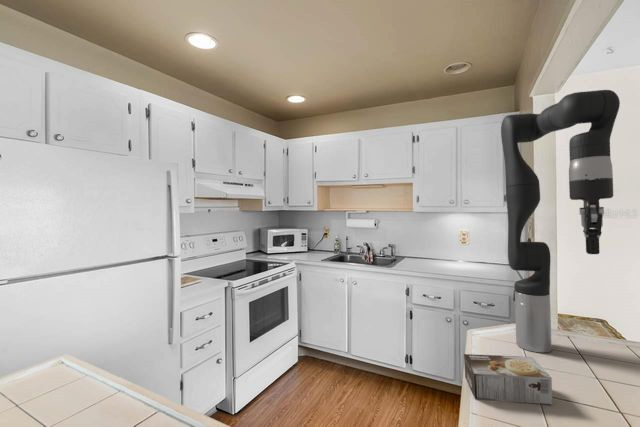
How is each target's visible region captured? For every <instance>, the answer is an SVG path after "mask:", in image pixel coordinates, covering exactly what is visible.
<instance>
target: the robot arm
mask: <svg viewBox="0 0 640 427" xmlns="http://www.w3.org/2000/svg"><path fill="white" fill-rule="evenodd" d="M620 104H621V103H620V97H619V95H618V94H617V93H616V92H615V91H614V90H610V89H599V90H590V91H589V90H588V91H577V92H572V93H570V94H566V95H565V96H563V97H562V98H561V99H560V100H559V101H558V102H557V103H554V104H552V105H549V106H548V107H546V108H544V109H543V110H542V111H541V112H540V113H518V114H516V113H515V114H509V115H506V116H504V118H503V119H502V120H501V121H502V122H501V126H500V135H501V144H502V150H503V159H504V170H505V172H504V173H505V174H504V175H505V198H506V200H505V201H506V209H507V230H508V231H507V234H508V235H507V260H508V264H509V267H510V269H511V270H514V271H522V272H523V271H524V272H525V271H526V272H533V274H532V275H531V276H528V277H525V278H523V279H519V280H516V281H515V282H514V284H513V286H514V287H513V288H514V306H515V308H514V309H515V310H514V312H515V314H514V315H515V341H516V342H515V344H516V345H517V346H518V347H519V348H521V349H524V350H527V351H530V352H535V353H544V354H545V353H549V352H552V349H553V348H552V320H551V319H552V317H551V314H552V313H551V312H552V311H551V293H550V292H551V290H550V287H551V260H552V259H551V249H550V247H549V245H548V244H547V243H546V242H544V241H522V234H523V233H522V232H523V230H524V227H525V225H526V223H528V220H530V218H531V216H532V215H533V213H534V212H535V211H536V209H537V208H538V206H539V204H540V202H541V186H540V180H539V177H538V176H537V174H536V172H535V171H534V170H533V168H532V167H531V166H530V165H529V164H528V163H527V161H526V160H525V159H524V158H523V156H522V154H521V152H520V148H519V145H518V144H519V143H520V144H522V143H532V142H535V141H537V140H539V139H541V138H543V137H544V136H547V135H548V134H550V133H552V132H557V131H562V130H565V129H569V128H571V127H574V126H576V125H578V124H579V125H580V124H590V128H589V130H588V131H585V132H581V133H577V134H575V135H573V136H572V137H570V139H569V143H568V144H569V145H568V146H569V147H568V148H569V167H568V185H569V186H568V187H569V199H570V200H572V201H578V200H579V201H583V207H579V216H580V221H581V226H582V227H583V230H582V232H583V236H584V238H585V253H586V254H587V255H599V254H600V238H601V235H602V233H603V232H602V227H603V224H604V222H603V221H604V220H603V217H604V214H605V207H604V206H601V205H600V200H603V199H605V200H606V199H612V198H613V197H614V180H613V179H614V175H613V172H614V171H613V170H614V169H613V164H612V159H611V136H612V133H613V129H614V125H615V121H616V120H617V116H618V113H619V110H620Z"/></svg>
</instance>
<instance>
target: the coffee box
mask: <svg viewBox="0 0 640 427" xmlns="http://www.w3.org/2000/svg"><path fill="white" fill-rule="evenodd" d="M463 359H464V360H463V361H464V364H463V366H464V377H465V379H466V382H467V384H468V387H469V389H470V391H471V392H472V395H473V398H474V399H475V400H484V401H485V400H488V401H501V402H502V401H503V402H517V403H529V404H530V403H531V404H545V405H552V404H553V385H552V382H553V381H552V380H553V379H552V376H551V375H550V374H549V373H548V372H547V371H546V370H545V369H544V368H543V367H542V366H541V364H540V363H538V362H537V360H536V359H535V358H534V357H533V356H523V355H521V356H520V355H519V356H518V355H514V356H513V355H492V354H469V353H464V354H463Z"/></svg>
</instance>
